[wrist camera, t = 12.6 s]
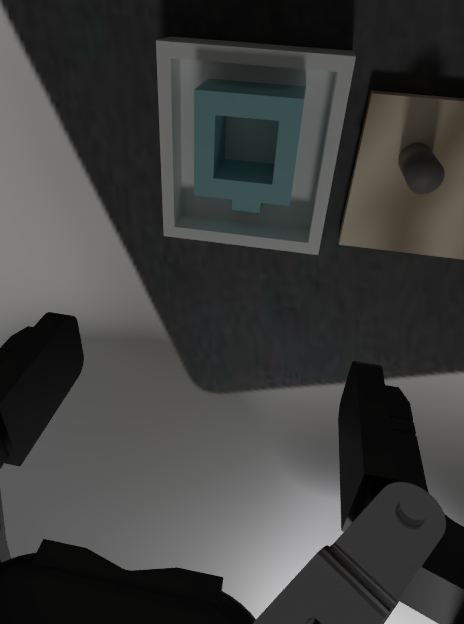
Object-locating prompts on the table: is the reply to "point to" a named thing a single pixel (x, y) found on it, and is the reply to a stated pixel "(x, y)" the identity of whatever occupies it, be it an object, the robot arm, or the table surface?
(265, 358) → the table surface
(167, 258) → the table surface
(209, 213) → the tray
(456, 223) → the peg board
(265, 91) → the teal hollow block
